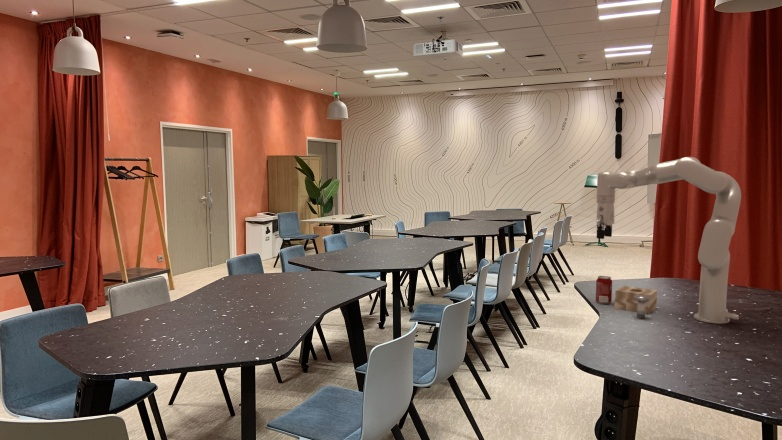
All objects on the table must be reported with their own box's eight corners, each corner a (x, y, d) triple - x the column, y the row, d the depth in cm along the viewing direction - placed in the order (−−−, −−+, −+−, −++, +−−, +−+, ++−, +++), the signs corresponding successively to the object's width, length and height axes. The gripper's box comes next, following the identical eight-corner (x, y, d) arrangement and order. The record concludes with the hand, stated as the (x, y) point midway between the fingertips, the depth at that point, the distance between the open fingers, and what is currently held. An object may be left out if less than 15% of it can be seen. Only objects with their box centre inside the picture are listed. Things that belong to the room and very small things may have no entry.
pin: (649, 317, 224) (650, 296, 223) (646, 320, 219) (647, 298, 218) (635, 315, 227) (636, 294, 226) (631, 317, 223) (632, 296, 222)
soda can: (609, 305, 243) (610, 279, 242) (593, 303, 247) (594, 277, 246) (613, 302, 248) (614, 276, 247) (598, 300, 252) (599, 274, 251)
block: (656, 308, 238) (657, 290, 237) (648, 313, 229) (649, 295, 228) (623, 303, 247) (623, 285, 246) (614, 308, 238) (615, 290, 237)
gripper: (607, 201, 233) (606, 240, 235) (620, 199, 246) (619, 236, 248) (590, 200, 238) (588, 238, 240) (603, 198, 251) (602, 234, 253)
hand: (604, 237), depth 244 cm, fingers open, 9 cm apart
